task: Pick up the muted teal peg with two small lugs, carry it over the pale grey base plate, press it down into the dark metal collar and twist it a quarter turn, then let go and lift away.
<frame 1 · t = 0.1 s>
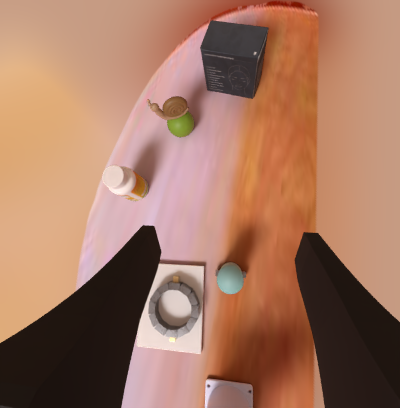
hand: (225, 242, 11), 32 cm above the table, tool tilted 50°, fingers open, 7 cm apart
supplement bottle: (137, 189, 47), on the table
box: (233, 82, 48), on the table
collar plate: (171, 304, 42), on the table
snail figurine: (181, 131, 48), on the table
teal peg: (230, 272, 41), on the table
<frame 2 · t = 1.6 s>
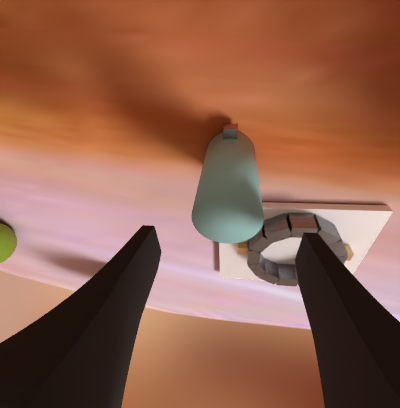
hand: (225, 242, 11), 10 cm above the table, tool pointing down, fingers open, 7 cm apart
collar plate: (287, 245, 24), on the table
snail figurine: (10, 229, 30), on the table
teal peg: (230, 154, 18), on the table
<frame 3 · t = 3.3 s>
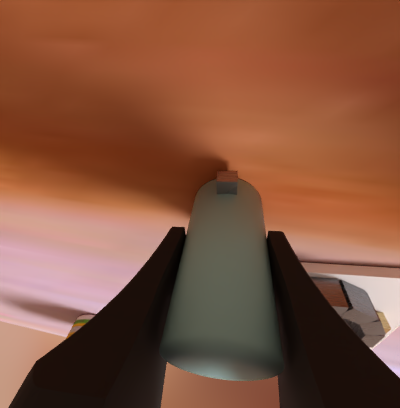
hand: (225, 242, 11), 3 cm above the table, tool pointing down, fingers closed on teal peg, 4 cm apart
collar plate: (300, 305, 19), on the table
teal peg: (227, 205, 13), on the table, touching gripper
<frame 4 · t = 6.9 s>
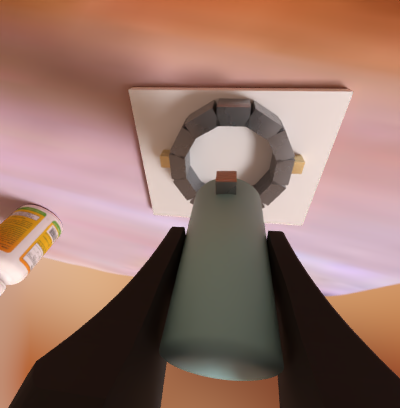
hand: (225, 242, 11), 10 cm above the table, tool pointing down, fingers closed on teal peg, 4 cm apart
supplement bottle: (43, 218, 28), on the table
collar plate: (229, 163, 19), on the table
teal peg: (227, 205, 13), point 7 cm above the table, touching gripper
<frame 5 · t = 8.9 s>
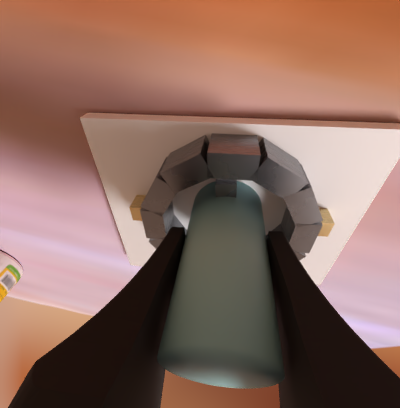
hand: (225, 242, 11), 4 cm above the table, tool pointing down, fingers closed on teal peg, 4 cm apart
collar plate: (226, 211, 14), on the table
teal peg: (226, 208, 13), point 1 cm above the table, touching collar plate, gripper
when the fingers open (4 cm above the table, at t = 10.5 s): teal peg stays where it is, resting on collar plate.
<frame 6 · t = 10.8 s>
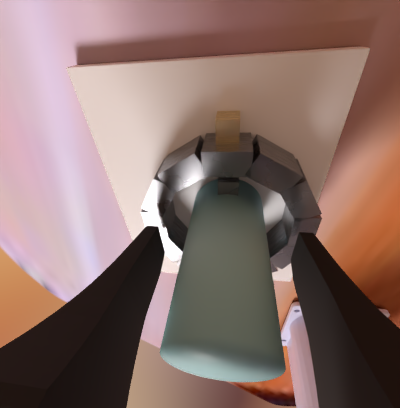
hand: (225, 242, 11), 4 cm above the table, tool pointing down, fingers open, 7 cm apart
collar plate: (211, 197, 14), on the table
teal peg: (227, 206, 13), point 1 cm above the table, touching collar plate
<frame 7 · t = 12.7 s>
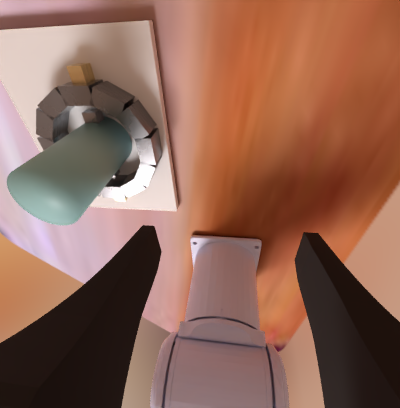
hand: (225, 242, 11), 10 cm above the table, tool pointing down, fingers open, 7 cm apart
collar plate: (101, 136, 19), on the table
teal peg: (108, 140, 18), point 1 cm above the table, touching collar plate
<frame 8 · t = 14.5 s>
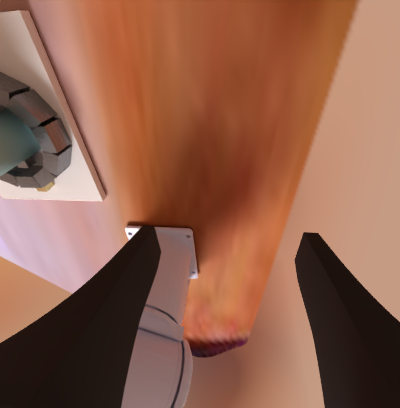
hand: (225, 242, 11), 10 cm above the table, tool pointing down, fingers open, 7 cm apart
collar plate: (15, 128, 20), on the table
teal peg: (19, 131, 19), point 1 cm above the table, touching collar plate
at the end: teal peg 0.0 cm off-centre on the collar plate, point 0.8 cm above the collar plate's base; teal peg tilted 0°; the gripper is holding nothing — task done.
